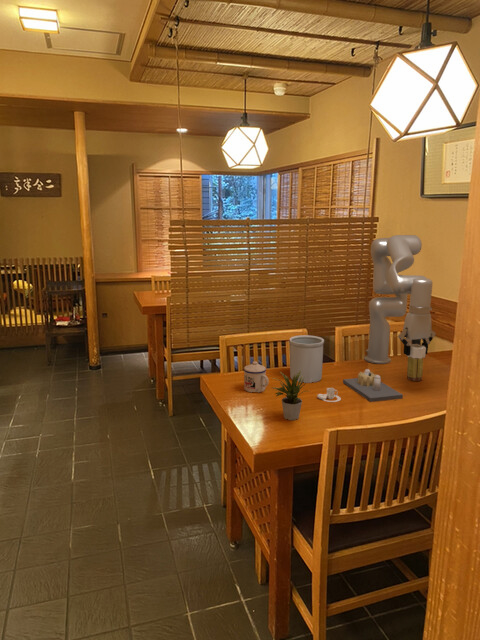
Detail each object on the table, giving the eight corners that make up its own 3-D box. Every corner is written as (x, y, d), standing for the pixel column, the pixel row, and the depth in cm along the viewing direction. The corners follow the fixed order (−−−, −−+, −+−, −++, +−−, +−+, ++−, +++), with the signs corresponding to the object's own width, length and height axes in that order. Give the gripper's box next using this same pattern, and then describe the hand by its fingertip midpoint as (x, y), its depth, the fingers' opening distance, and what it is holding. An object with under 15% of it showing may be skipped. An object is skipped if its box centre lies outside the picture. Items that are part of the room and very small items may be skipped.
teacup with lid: (238, 388, 187) (239, 361, 185) (254, 383, 193) (255, 357, 191) (259, 397, 178) (259, 368, 176) (275, 391, 184) (276, 363, 182)
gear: (401, 353, 184) (402, 344, 183) (417, 352, 186) (418, 343, 185) (412, 359, 177) (413, 349, 176) (429, 357, 179) (430, 348, 178)
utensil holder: (299, 385, 191) (301, 345, 187) (282, 375, 204) (283, 337, 201) (329, 380, 197) (331, 341, 193) (310, 370, 210) (311, 333, 207)
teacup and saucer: (315, 401, 176) (316, 391, 175) (320, 393, 183) (320, 384, 182) (338, 404, 172) (339, 394, 172) (342, 397, 180) (342, 387, 179)
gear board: (342, 382, 195) (343, 365, 193) (372, 379, 198) (373, 362, 197) (370, 401, 174) (371, 382, 172) (402, 398, 177) (404, 379, 176)
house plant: (278, 405, 170) (279, 363, 167) (314, 411, 165) (316, 368, 162) (265, 420, 157) (266, 375, 154) (304, 427, 152) (306, 380, 149)
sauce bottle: (419, 377, 202) (423, 333, 198) (423, 382, 196) (427, 337, 192) (404, 376, 202) (407, 333, 198) (407, 381, 196) (411, 336, 192)
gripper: (432, 307, 183) (428, 349, 187) (394, 309, 179) (390, 352, 183) (445, 311, 176) (440, 355, 180) (405, 313, 171) (401, 358, 175)
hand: (415, 353), depth 181 cm, fingers closed on gear, 7 cm apart
